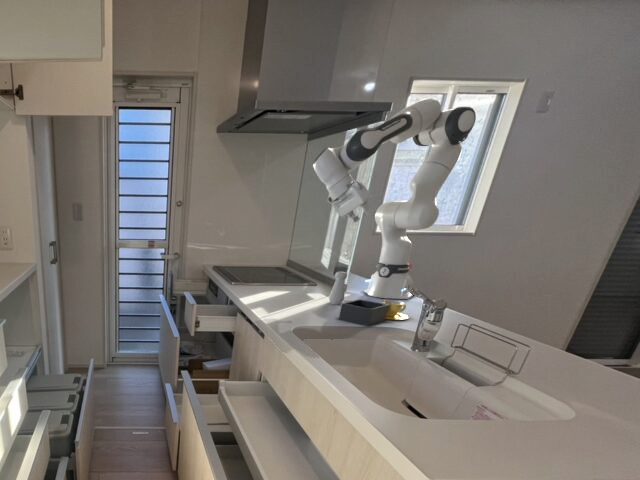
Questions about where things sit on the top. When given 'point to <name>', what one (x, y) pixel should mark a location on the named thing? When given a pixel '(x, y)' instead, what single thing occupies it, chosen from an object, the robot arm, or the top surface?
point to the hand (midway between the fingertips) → (362, 217)
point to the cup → (395, 310)
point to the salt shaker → (338, 289)
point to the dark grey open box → (363, 312)
